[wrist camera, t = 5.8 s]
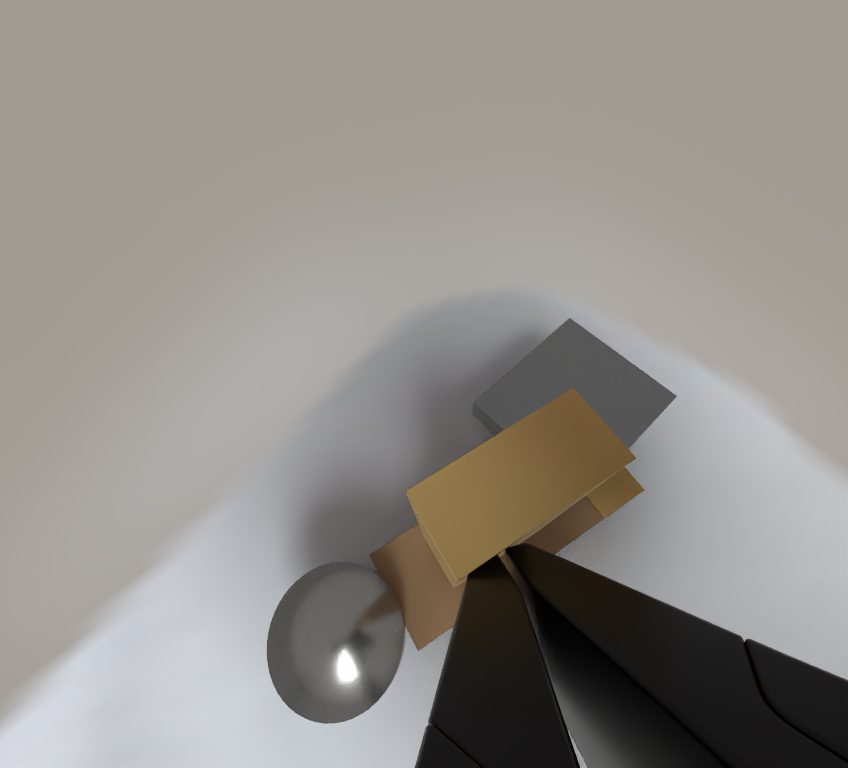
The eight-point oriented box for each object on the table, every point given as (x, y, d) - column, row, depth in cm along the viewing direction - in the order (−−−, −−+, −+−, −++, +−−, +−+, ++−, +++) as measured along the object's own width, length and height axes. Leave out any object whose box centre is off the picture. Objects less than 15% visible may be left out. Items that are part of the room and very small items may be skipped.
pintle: (388, 719, 14) (374, 749, 11) (280, 672, 14) (241, 689, 12) (425, 589, 15) (421, 587, 13) (327, 553, 16) (303, 545, 13)
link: (421, 645, 14) (375, 726, 5) (377, 558, 15) (280, 506, 7) (625, 500, 16) (849, 377, 7) (570, 433, 17) (699, 260, 8)
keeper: (553, 520, 16) (580, 500, 13) (469, 438, 18) (474, 402, 15) (634, 433, 18) (676, 396, 14) (548, 365, 19) (569, 318, 16)
